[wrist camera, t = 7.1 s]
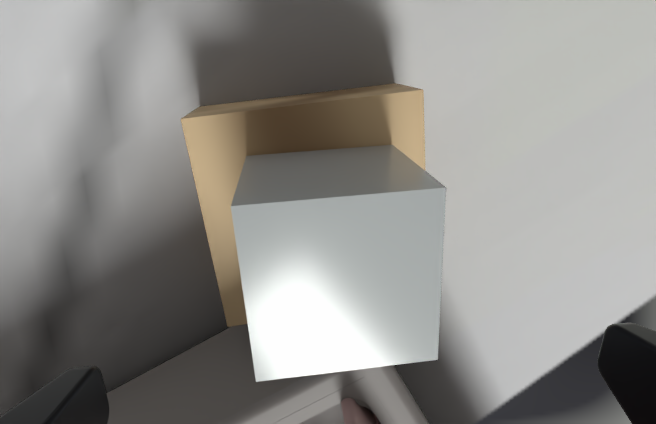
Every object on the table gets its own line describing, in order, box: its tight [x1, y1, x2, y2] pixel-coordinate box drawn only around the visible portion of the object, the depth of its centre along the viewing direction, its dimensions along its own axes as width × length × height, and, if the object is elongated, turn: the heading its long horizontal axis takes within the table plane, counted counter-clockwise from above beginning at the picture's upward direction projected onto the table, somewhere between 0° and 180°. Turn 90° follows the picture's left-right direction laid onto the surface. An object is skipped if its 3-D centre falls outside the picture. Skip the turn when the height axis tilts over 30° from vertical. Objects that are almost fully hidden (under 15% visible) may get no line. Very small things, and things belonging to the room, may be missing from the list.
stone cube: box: [231, 145, 446, 382], centre depth 13 cm, size 5×5×5 cm
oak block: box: [181, 83, 425, 327], centre depth 17 cm, size 8×8×4 cm
